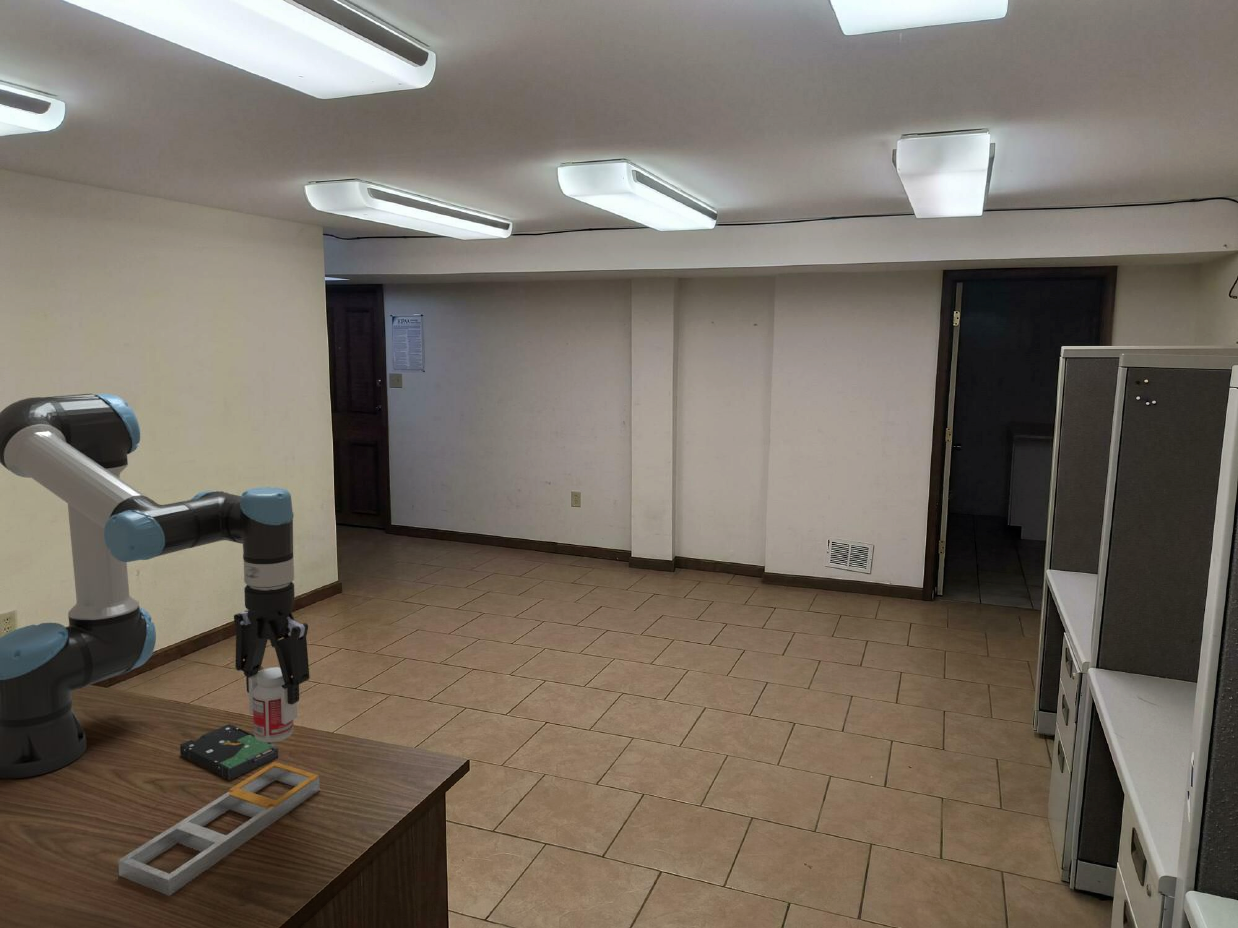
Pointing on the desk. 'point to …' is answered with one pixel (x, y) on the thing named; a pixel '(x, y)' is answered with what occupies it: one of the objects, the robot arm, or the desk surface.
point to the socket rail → (213, 842)
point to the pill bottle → (269, 707)
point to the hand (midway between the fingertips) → (273, 715)
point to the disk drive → (229, 751)
